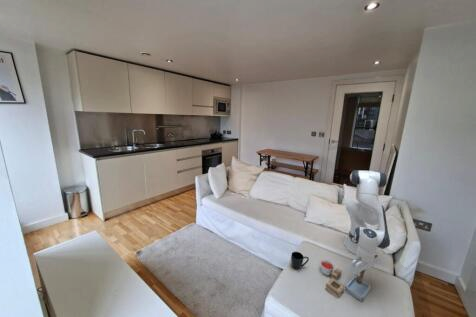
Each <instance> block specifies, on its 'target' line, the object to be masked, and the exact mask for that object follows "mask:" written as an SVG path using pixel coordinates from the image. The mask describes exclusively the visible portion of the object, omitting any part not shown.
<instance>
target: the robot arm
mask: <svg viewBox="0 0 476 317" xmlns="http://www.w3.org/2000/svg"><path fill="white" fill-rule="evenodd" d="M349 179H350V183H352V184H353V185H356V192H355V199H356V201H353V200H350V201H349V202H348V203H347V204H346V207H345V208H346V212H347V213H348V214H349V219H350V229H349V232H348V235H346V236H345V240H344V241H343V242H342V244H343V246H344V247H345V249H346V250H347V251H348V252H350V253H352V254H353V255H355V256H356V258H355V259H353V260H352V261H351V264H350V266H349V271H350V273H352V274H353V275H355V276H357V275H358V276H360V275H361V273H360V272H361V271H363V270H365V271H364V274H365V273H366V271H367V269H368V268H370V267H372V266H374V264H375V263H376V260H377V258H378V256H379V253H377V252H376V249H377V248H379V249H383V250H384V249H386V248H389V247H390V245H391V239H390V234H389V229H388V223H387V216H386V211H385V207H384V205H382V204H381V203H380V201H379V188H384V187H386V185H387V184H388V177H387V174H386V173H385V172H381V171H380V172H379V171H378V172H377V171H374V170H358V169H357V170H355V169H354V170H352V171H351V174H350V175H349ZM367 224H368V225H369V226H376V225H378V229H377V230H376V229H373V228H368V226H367Z"/></svg>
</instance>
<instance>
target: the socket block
mask: <svg viewBox="0 0 476 317" xmlns="http://www.w3.org/2000/svg"><path fill="white" fill-rule="evenodd" d="M345 286H346V285H344V284H343V283H341V282H339V281H338V280H335V279H334V278H331V277H330V280H328V281H327V283H325V288H324V289H325V290H326V291H327V292H329V293H330V294H331V295H333V296H334V297H335V298H337V299H339V297H340V296H341V295H342V294H343V293H344V292H345Z"/></svg>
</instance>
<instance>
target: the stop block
mask: <svg viewBox="0 0 476 317" xmlns="http://www.w3.org/2000/svg"><path fill="white" fill-rule="evenodd" d="M341 275H342V269H340V268H338V267H336V268H334V270H333V272H332V274H331V275H330V279H331V278H334V279H335V280H337V281H338V280H339V279H340V278H341Z"/></svg>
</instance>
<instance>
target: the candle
mask: <svg viewBox="0 0 476 317" xmlns="http://www.w3.org/2000/svg"><path fill="white" fill-rule="evenodd" d="M334 270H335V264H334V263H333V262H332V261H330V260H329V259H321V260H320V272H321V273H322V274H323V275H325V276H331V274H332V272H333V271H334Z"/></svg>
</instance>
